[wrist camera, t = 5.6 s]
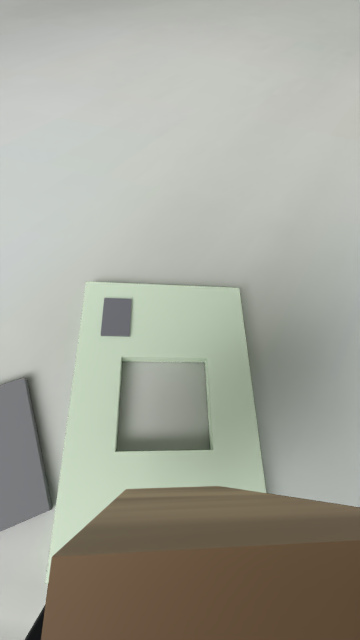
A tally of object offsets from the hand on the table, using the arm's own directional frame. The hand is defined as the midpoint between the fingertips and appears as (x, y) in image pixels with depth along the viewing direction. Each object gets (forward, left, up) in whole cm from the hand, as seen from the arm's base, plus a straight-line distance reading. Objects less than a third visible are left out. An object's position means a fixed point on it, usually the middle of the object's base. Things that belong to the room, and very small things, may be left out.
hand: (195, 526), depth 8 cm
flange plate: (+4, -4, -12) cm, 13 cm away
